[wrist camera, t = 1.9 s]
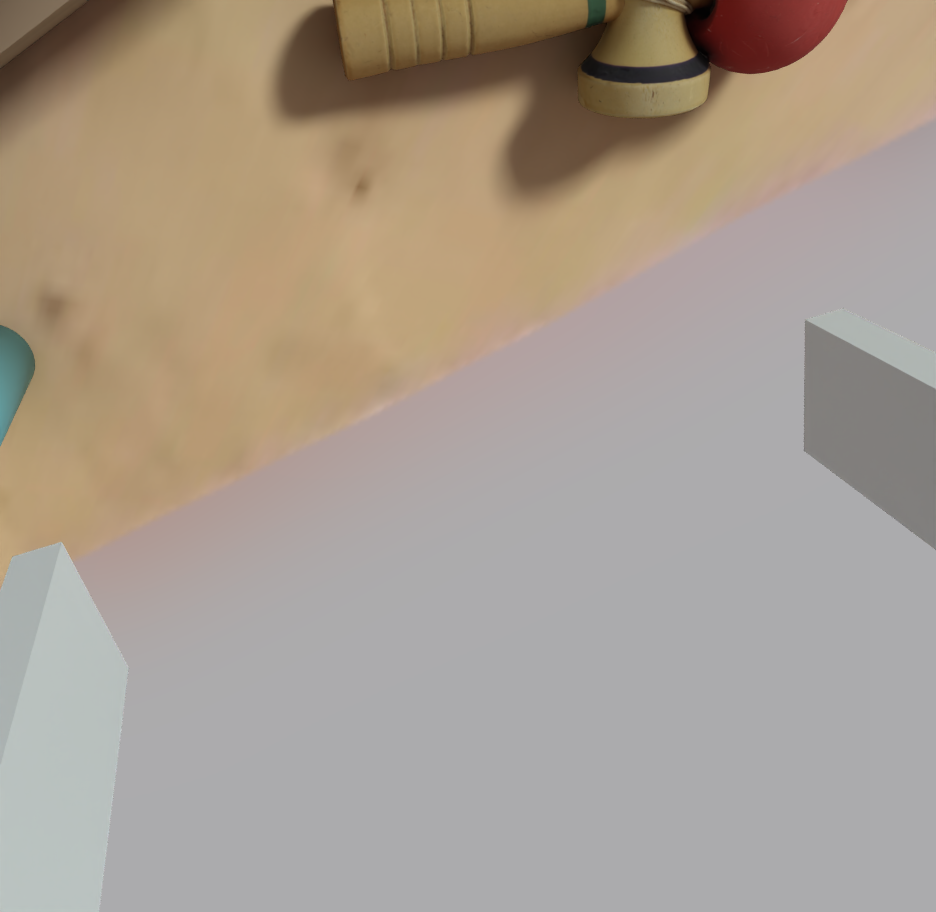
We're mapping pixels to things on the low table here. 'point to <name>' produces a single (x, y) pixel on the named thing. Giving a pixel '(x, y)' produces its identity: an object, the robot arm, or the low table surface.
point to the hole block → (29, 23)
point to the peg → (13, 375)
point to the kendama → (616, 55)
